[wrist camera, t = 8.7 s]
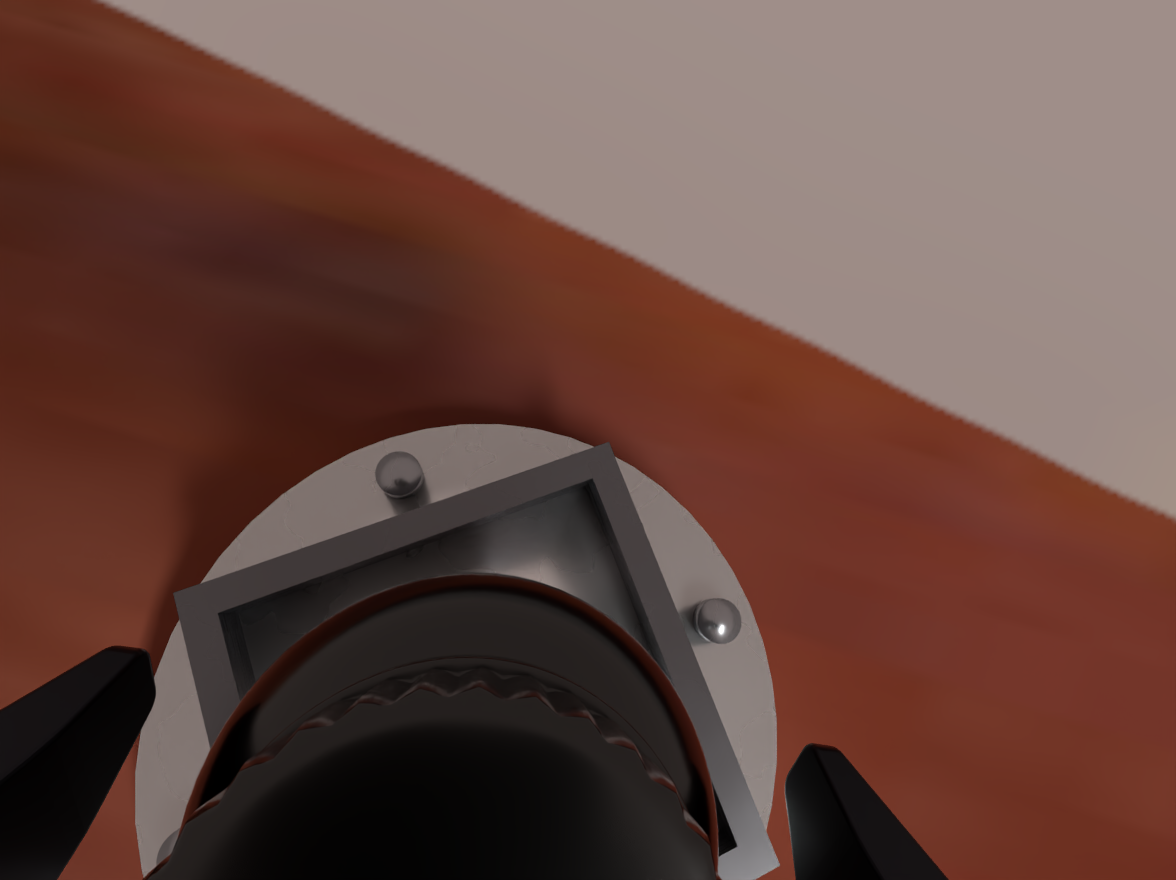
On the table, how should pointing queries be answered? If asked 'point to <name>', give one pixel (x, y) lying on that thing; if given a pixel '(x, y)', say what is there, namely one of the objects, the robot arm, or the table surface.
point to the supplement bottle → (455, 750)
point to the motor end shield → (463, 545)
